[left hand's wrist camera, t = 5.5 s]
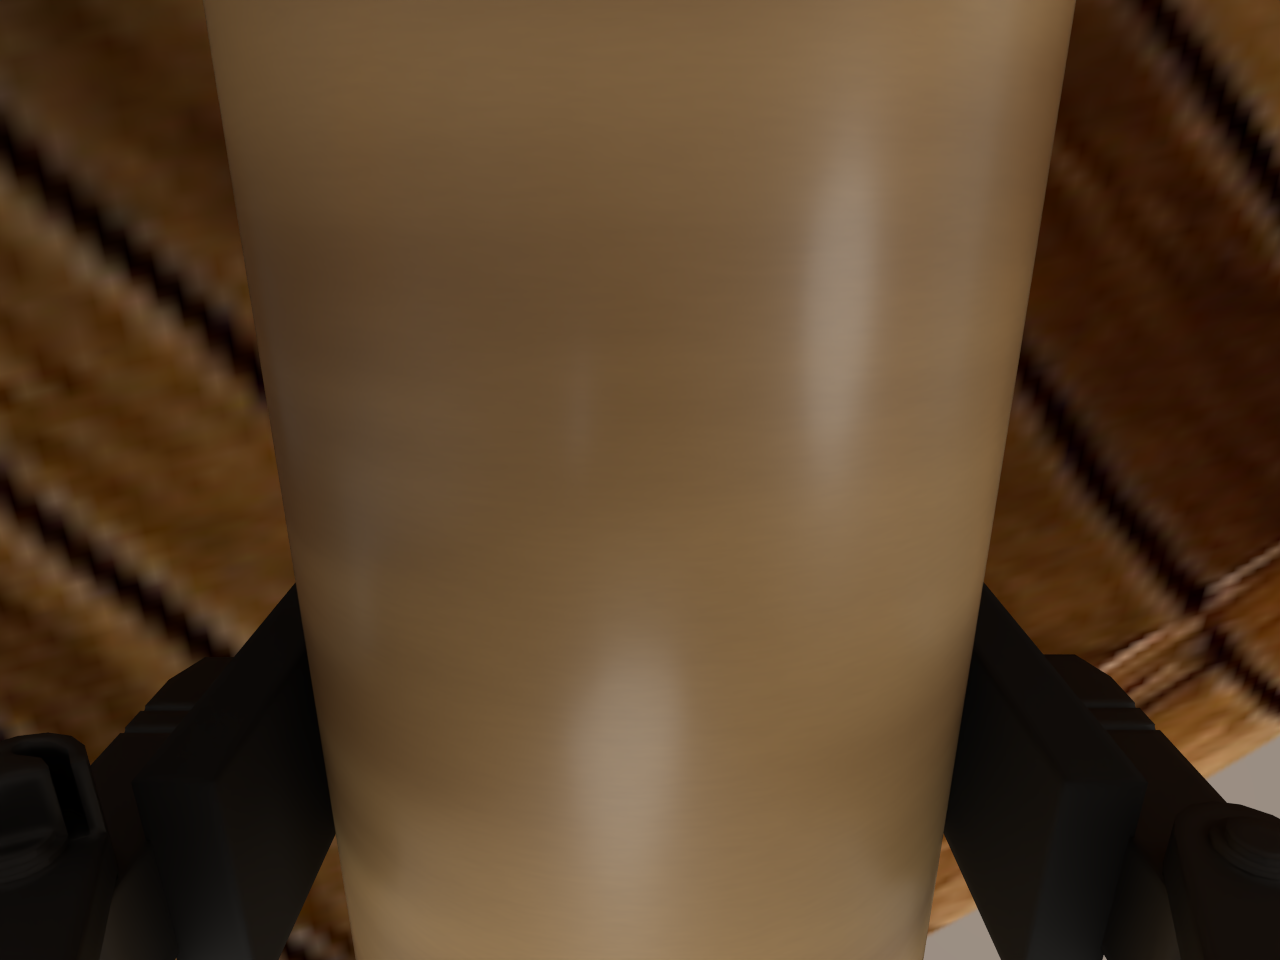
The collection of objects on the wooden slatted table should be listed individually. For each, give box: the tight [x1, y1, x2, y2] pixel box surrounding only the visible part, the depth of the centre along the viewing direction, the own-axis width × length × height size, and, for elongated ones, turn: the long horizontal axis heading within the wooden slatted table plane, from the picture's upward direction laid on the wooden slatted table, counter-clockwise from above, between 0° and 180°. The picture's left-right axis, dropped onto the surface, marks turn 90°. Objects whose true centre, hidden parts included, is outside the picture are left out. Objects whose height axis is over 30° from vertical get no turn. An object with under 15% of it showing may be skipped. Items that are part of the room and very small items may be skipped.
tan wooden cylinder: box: [203, 0, 1076, 960], centre depth 8 cm, size 23×8×8 cm, turn 0°
